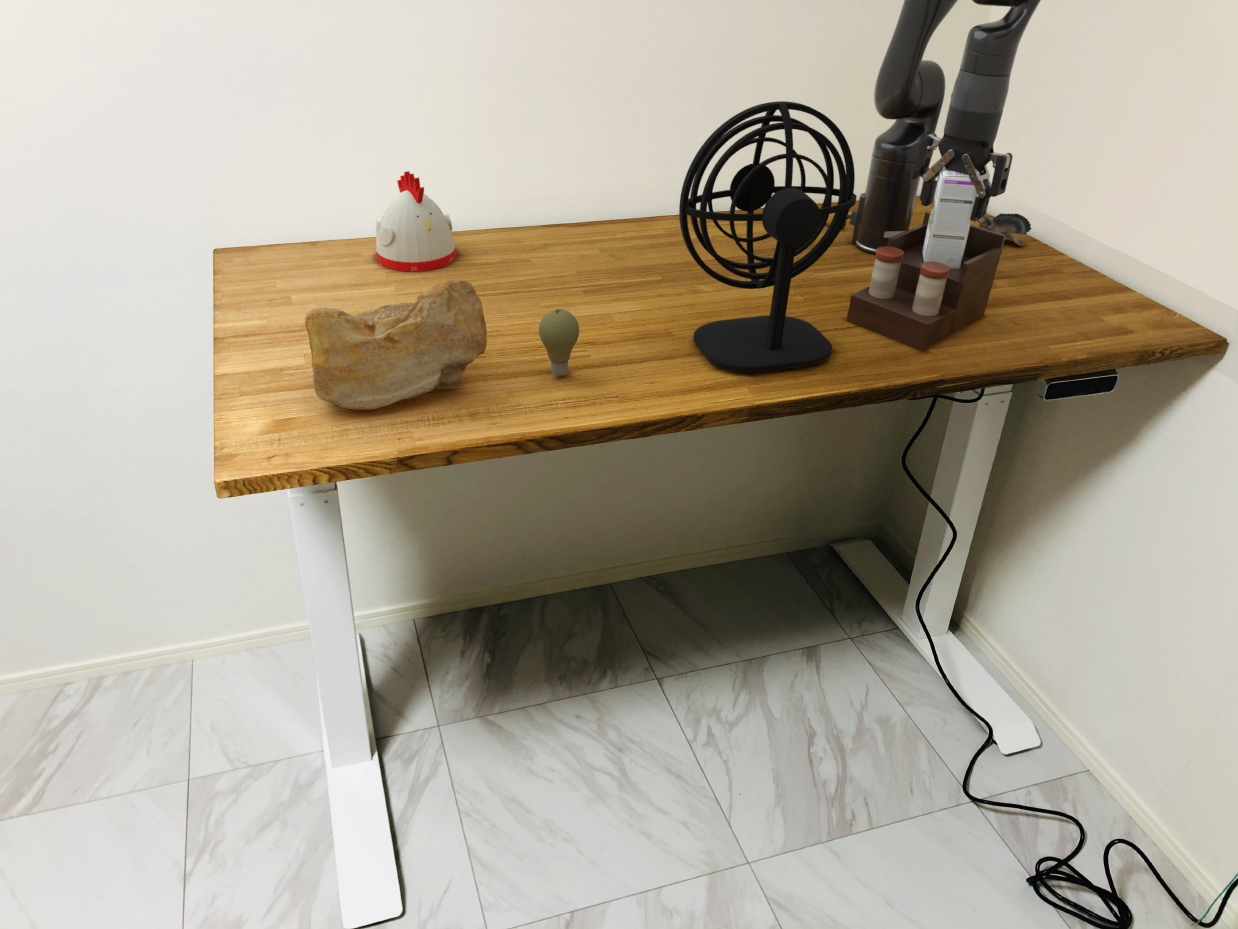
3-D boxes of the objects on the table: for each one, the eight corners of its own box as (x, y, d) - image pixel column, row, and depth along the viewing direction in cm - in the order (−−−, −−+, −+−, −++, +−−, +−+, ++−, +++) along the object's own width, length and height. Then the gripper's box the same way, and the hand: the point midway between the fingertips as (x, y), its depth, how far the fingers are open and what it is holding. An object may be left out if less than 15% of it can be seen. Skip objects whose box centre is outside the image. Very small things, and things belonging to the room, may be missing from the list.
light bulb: (539, 366, 134) (538, 302, 129) (577, 365, 135) (578, 302, 129) (540, 385, 130) (538, 320, 124) (579, 384, 130) (580, 319, 125)
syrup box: (960, 269, 146) (984, 177, 138) (922, 265, 147) (943, 174, 139) (957, 256, 151) (979, 166, 143) (919, 252, 152) (940, 163, 144)
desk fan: (813, 312, 153) (850, 88, 133) (867, 361, 139) (917, 119, 119) (658, 329, 146) (672, 95, 126) (698, 383, 132) (722, 129, 112)
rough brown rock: (471, 349, 140) (460, 252, 132) (498, 394, 126) (487, 288, 119) (312, 375, 133) (290, 275, 126) (322, 425, 120) (298, 316, 112)
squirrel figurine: (983, 245, 177) (1033, 240, 176) (980, 208, 177) (1030, 202, 176) (974, 253, 185) (1022, 248, 183) (972, 218, 185) (1020, 212, 183)
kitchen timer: (400, 277, 159) (390, 190, 150) (363, 252, 168) (353, 168, 159) (470, 260, 166) (465, 176, 158) (431, 236, 175) (425, 156, 167)
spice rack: (922, 351, 142) (943, 264, 135) (846, 320, 151) (861, 237, 143) (983, 316, 154) (1006, 235, 146) (909, 289, 162) (927, 211, 154)
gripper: (1035, 110, 133) (1004, 220, 143) (947, 90, 142) (923, 195, 151) (1010, 118, 129) (979, 230, 138) (920, 97, 137) (897, 204, 147)
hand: (950, 212), depth 145 cm, fingers open, 8 cm apart
